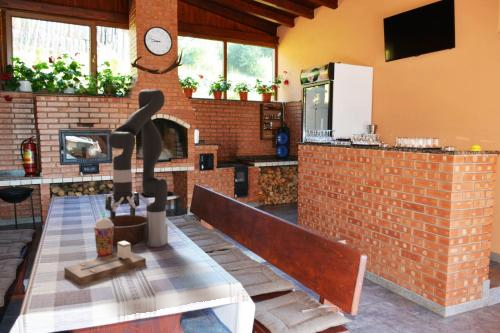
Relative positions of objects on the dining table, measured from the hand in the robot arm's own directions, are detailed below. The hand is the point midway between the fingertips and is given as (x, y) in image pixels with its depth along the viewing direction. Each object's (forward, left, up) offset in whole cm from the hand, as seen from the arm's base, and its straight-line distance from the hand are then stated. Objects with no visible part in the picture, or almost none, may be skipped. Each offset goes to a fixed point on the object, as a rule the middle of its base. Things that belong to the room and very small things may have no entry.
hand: (123, 218), depth 163 cm
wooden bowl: (-18, -30, -21) cm, 41 cm away
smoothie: (0, -17, -20) cm, 27 cm away
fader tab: (0, 0, -17) cm, 17 cm away
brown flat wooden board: (+8, 0, -20) cm, 22 cm away
